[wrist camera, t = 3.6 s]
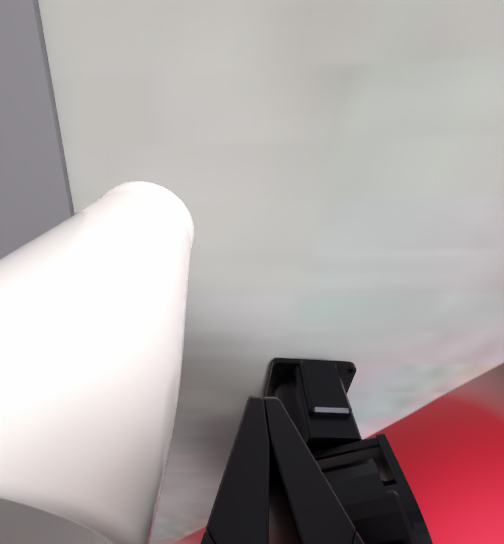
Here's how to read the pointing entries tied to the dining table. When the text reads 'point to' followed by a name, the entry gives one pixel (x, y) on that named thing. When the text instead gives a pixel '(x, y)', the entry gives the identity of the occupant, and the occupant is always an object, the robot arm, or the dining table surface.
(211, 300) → the dining table surface
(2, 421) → the drinking glass
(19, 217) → the mat
